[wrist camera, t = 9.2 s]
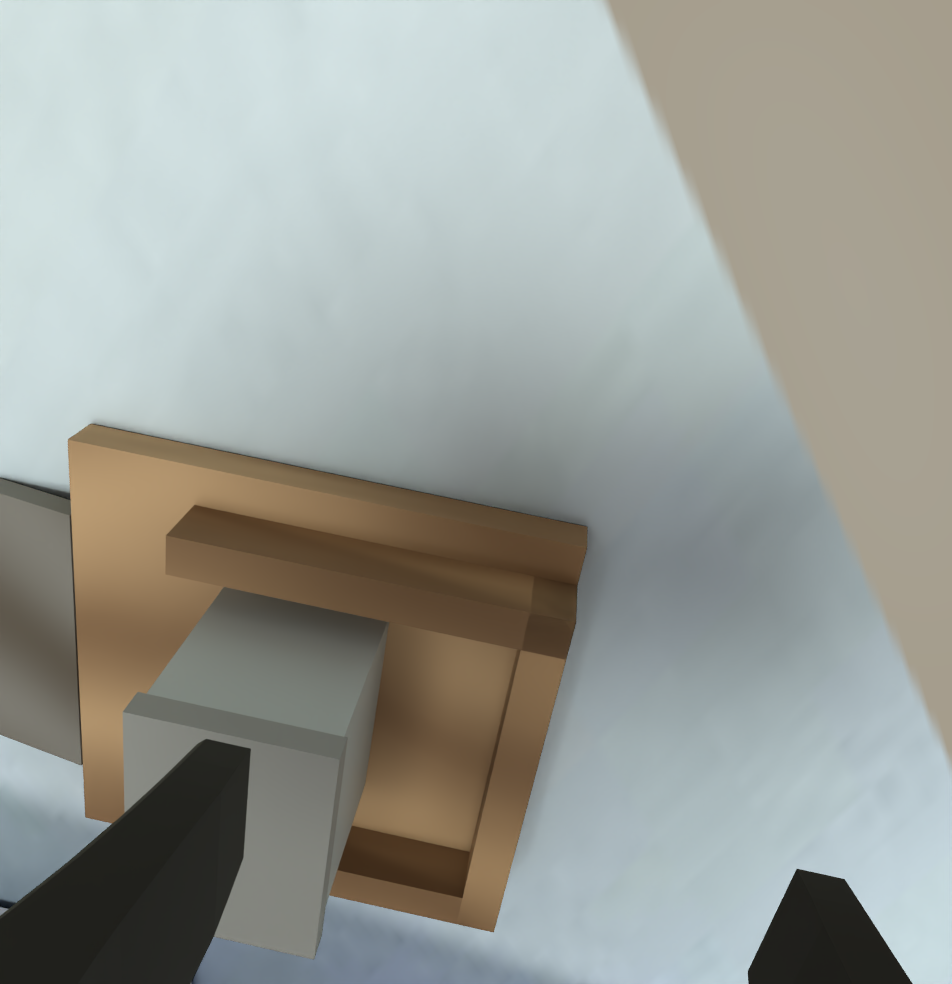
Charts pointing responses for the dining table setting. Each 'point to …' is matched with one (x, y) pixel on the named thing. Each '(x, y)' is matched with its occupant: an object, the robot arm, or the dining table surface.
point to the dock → (312, 581)
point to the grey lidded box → (271, 747)
